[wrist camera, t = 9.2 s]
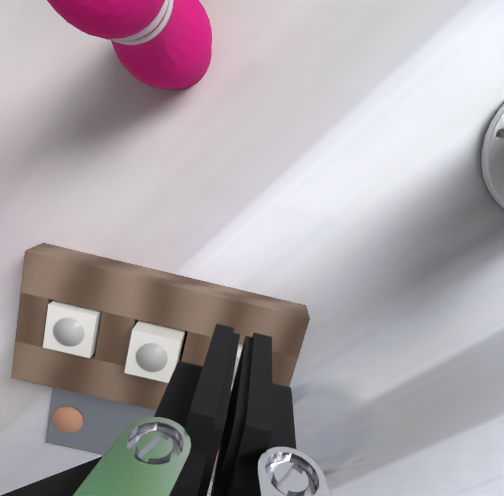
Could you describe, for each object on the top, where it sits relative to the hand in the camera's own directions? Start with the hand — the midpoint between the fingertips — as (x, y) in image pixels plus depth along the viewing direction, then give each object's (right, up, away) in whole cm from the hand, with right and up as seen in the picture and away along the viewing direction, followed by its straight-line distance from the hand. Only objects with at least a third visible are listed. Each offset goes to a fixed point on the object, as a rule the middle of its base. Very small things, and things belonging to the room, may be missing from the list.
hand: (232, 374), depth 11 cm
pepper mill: (-6, +20, +22) cm, 31 cm away
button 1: (-16, -3, +27) cm, 32 cm away
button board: (-8, -5, +28) cm, 30 cm away
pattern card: (-11, -16, +31) cm, 37 cm away
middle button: (-8, -5, +27) cm, 28 cm away
